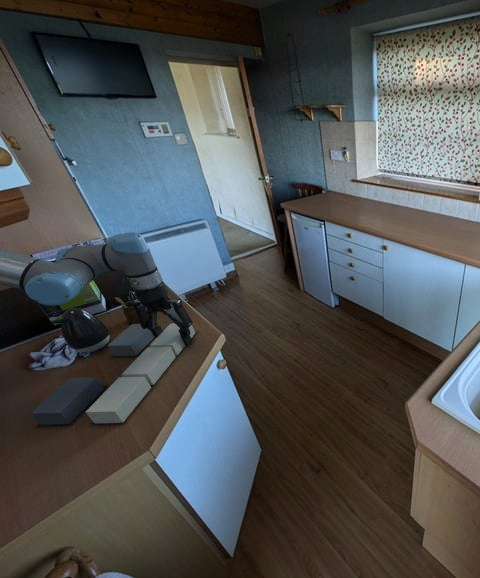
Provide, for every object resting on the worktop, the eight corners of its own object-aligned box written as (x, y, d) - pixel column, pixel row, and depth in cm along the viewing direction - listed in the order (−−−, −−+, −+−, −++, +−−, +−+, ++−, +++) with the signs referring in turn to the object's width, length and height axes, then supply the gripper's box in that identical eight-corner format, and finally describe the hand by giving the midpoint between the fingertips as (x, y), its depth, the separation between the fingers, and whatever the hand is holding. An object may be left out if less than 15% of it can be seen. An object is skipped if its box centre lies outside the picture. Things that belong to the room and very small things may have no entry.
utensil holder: (152, 315, 112) (138, 288, 106) (138, 325, 107) (123, 297, 101) (137, 314, 113) (123, 287, 107) (123, 324, 107) (108, 296, 101)
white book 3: (155, 355, 94) (149, 345, 91) (175, 333, 103) (170, 323, 101) (177, 355, 94) (172, 344, 92) (195, 333, 103) (191, 323, 101)
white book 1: (94, 423, 73) (85, 412, 71) (126, 388, 83) (118, 377, 80) (123, 422, 73) (114, 411, 71) (151, 387, 83) (144, 376, 81)
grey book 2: (113, 356, 93) (107, 345, 91) (137, 334, 103) (132, 323, 100) (136, 355, 94) (130, 345, 91) (157, 333, 103) (152, 323, 101)
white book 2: (128, 385, 84) (121, 374, 81) (153, 357, 93) (147, 347, 91) (153, 384, 84) (147, 373, 81) (175, 357, 93) (170, 346, 91)
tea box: (106, 300, 121) (87, 268, 113) (106, 311, 114) (86, 278, 107) (55, 314, 112) (31, 280, 105) (53, 326, 106) (27, 292, 98)
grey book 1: (40, 424, 73) (29, 413, 71) (78, 389, 82) (70, 378, 80) (69, 424, 73) (59, 412, 71) (104, 388, 82) (96, 377, 80)
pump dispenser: (65, 354, 94) (37, 316, 86) (101, 334, 102) (77, 298, 95) (88, 361, 91) (60, 322, 84) (122, 340, 100) (100, 303, 92)
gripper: (103, 291, 83) (138, 351, 95) (175, 291, 84) (201, 350, 96) (122, 279, 90) (152, 336, 101) (189, 278, 90) (212, 335, 102)
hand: (176, 343), depth 98 cm, fingers open, 7 cm apart
